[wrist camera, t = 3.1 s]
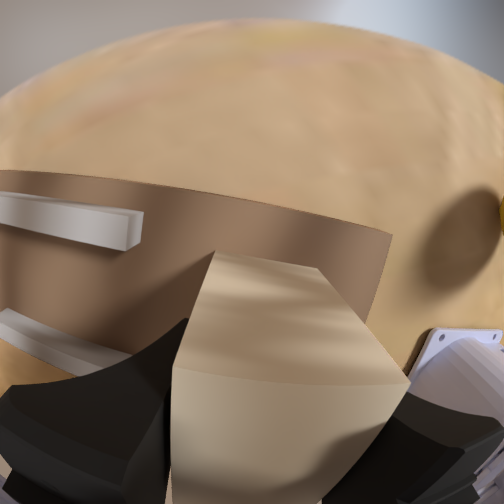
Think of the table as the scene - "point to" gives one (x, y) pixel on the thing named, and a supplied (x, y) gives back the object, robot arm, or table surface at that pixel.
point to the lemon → (502, 215)
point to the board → (146, 260)
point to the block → (274, 387)
